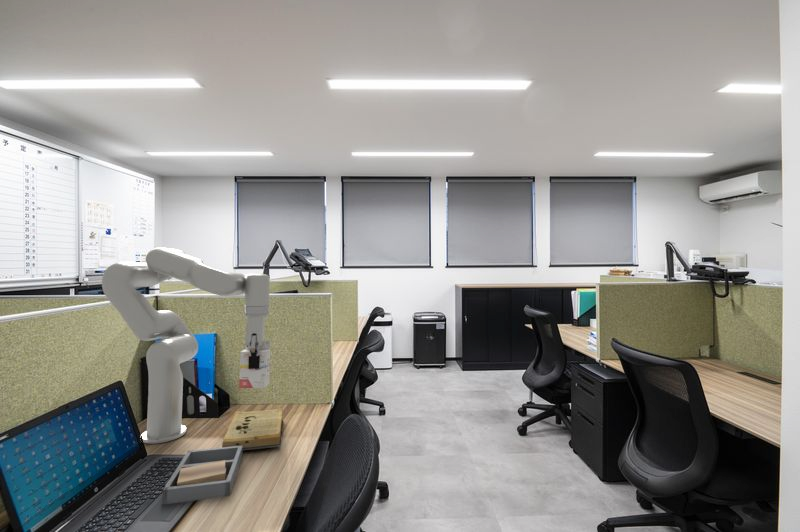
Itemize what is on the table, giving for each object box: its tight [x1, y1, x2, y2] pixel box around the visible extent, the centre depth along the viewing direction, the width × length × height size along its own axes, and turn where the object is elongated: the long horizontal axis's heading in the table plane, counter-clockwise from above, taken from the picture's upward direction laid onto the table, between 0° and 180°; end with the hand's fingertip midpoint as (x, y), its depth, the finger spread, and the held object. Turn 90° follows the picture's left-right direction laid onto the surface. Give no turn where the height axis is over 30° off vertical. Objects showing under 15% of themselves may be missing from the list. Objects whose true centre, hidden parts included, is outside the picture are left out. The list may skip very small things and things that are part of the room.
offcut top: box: [177, 460, 225, 486], centre depth 88 cm, size 7×10×2 cm
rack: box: [161, 445, 244, 506], centre depth 92 cm, size 19×14×4 cm
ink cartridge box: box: [238, 339, 271, 389], centre depth 118 cm, size 9×5×15 cm, turn 95°
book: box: [221, 406, 284, 452], centre depth 117 cm, size 25×17×6 cm
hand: (255, 365), depth 118 cm, fingers closed on ink cartridge box, 5 cm apart
